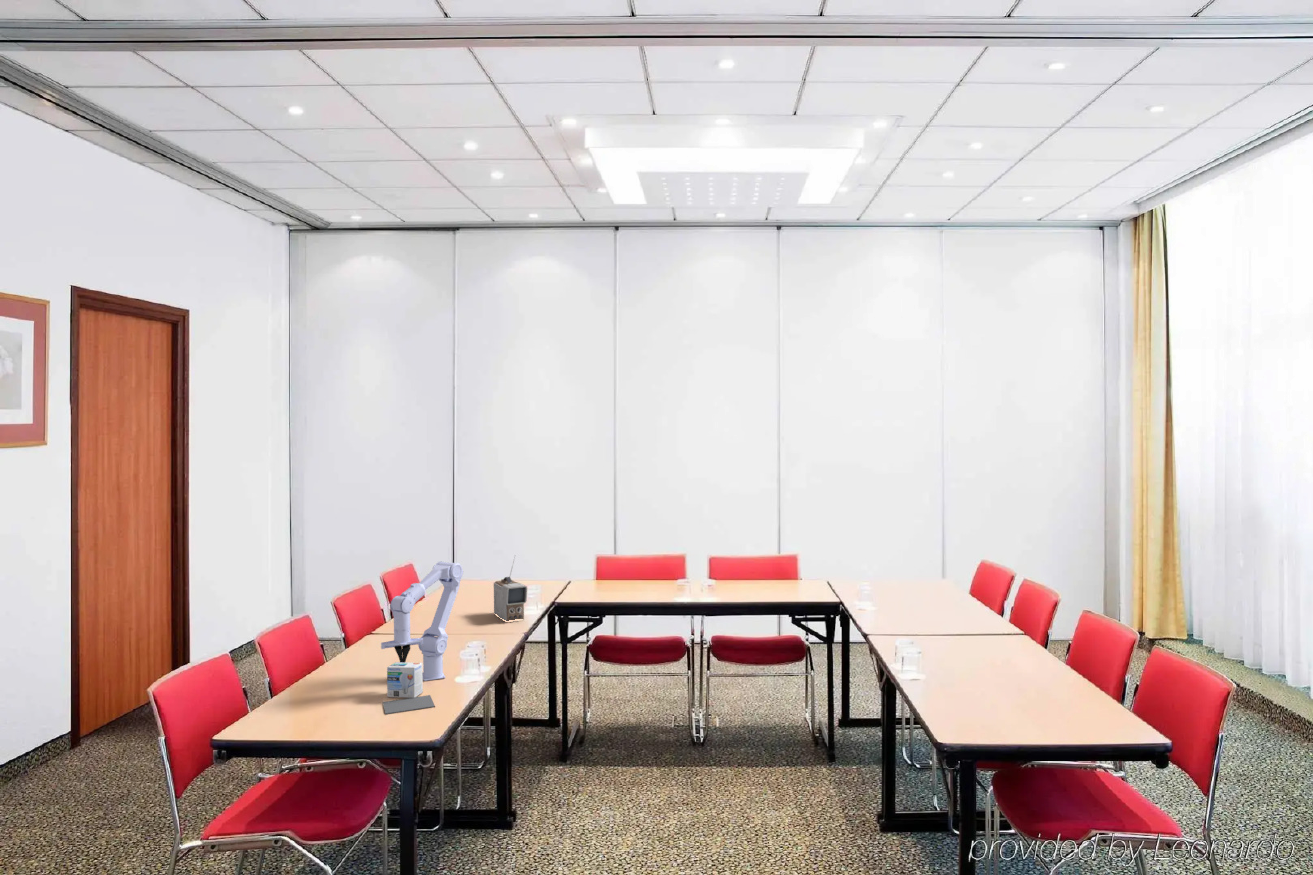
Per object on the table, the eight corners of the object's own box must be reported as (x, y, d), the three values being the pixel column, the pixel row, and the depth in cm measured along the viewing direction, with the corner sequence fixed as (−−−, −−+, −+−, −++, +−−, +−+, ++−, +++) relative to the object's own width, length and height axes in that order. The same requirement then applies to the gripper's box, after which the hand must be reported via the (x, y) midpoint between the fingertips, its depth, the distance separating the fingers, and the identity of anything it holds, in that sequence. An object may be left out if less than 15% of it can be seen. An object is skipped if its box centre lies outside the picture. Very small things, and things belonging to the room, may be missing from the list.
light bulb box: (386, 697, 273) (386, 666, 273) (395, 691, 280) (395, 661, 280) (415, 698, 272) (414, 667, 272) (423, 692, 278) (423, 662, 279)
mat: (382, 703, 268) (382, 701, 268) (430, 696, 275) (430, 695, 275) (385, 714, 257) (385, 713, 257) (434, 707, 264) (434, 706, 264)
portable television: (507, 625, 374) (506, 563, 374) (492, 614, 395) (491, 556, 394) (530, 621, 380) (530, 561, 379) (515, 611, 401) (514, 554, 400)
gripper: (382, 633, 276) (382, 671, 276) (424, 629, 282) (424, 666, 282) (380, 629, 283) (381, 666, 283) (421, 624, 288) (422, 661, 289)
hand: (402, 665), depth 283 cm, fingers closed
